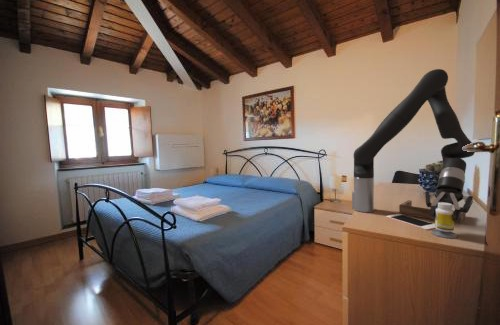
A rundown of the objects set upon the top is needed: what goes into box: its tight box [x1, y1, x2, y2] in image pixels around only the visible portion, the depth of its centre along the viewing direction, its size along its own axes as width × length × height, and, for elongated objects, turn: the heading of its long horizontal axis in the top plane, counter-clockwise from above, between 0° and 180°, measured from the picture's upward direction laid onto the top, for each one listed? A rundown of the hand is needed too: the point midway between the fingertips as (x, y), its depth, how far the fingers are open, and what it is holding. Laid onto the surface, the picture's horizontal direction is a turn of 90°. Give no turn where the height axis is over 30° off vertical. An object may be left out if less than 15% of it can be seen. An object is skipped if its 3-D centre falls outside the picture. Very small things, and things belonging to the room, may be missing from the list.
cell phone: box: [385, 213, 436, 231], centre depth 97 cm, size 9×18×1 cm, turn 19°
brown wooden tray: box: [398, 199, 467, 225], centre depth 105 cm, size 14×22×4 cm, turn 39°
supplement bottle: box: [434, 202, 455, 233], centre depth 82 cm, size 5×5×10 cm
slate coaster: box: [431, 229, 458, 240], centre depth 83 cm, size 7×7×1 cm
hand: (443, 218), depth 81 cm, fingers closed on supplement bottle, 5 cm apart
